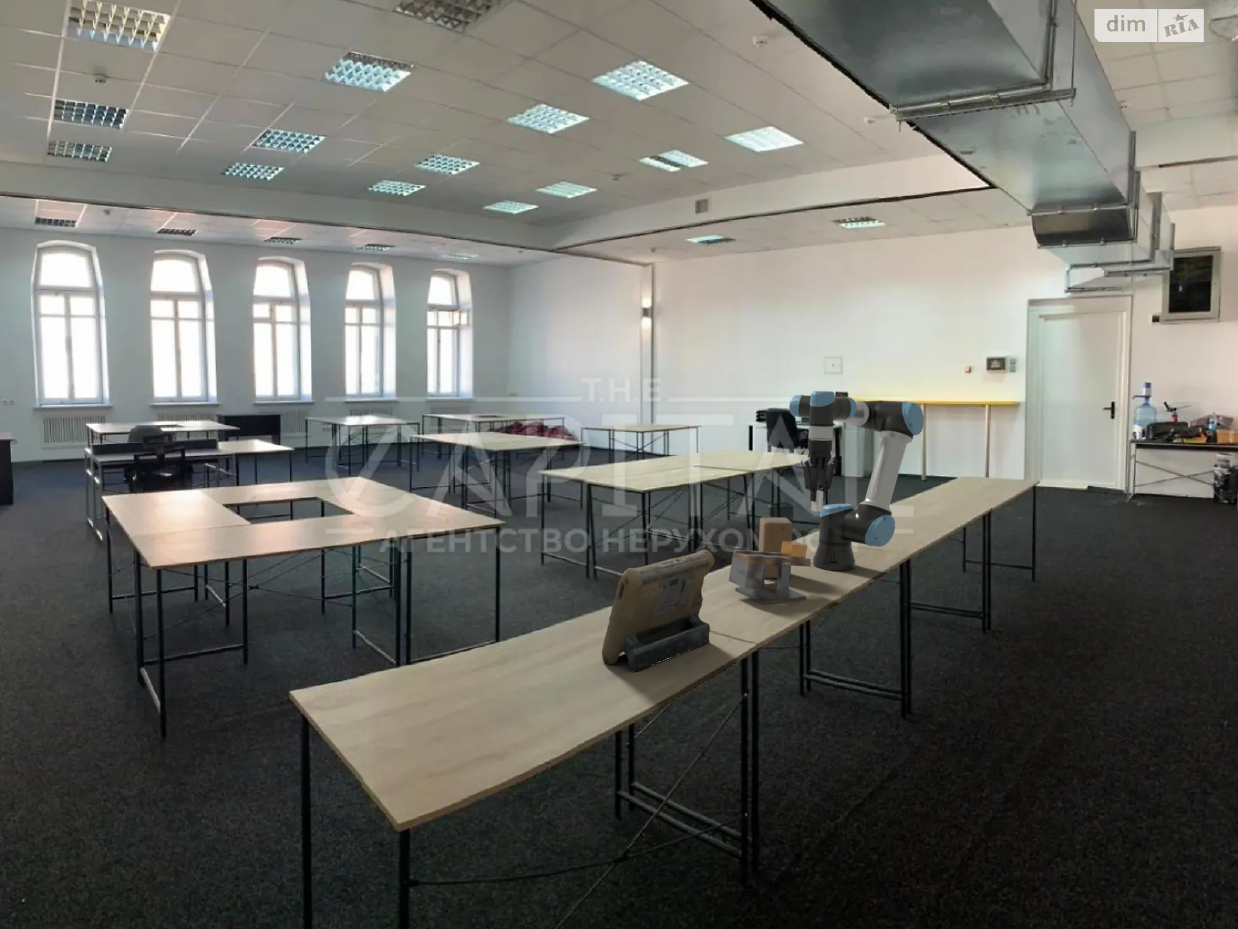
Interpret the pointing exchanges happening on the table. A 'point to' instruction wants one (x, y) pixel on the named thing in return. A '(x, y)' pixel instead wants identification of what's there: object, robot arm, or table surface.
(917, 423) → the robot arm
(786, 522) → the wooden block
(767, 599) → the pivot stand
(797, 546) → the rider
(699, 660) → the table surface
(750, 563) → the beam
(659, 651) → the tablet
